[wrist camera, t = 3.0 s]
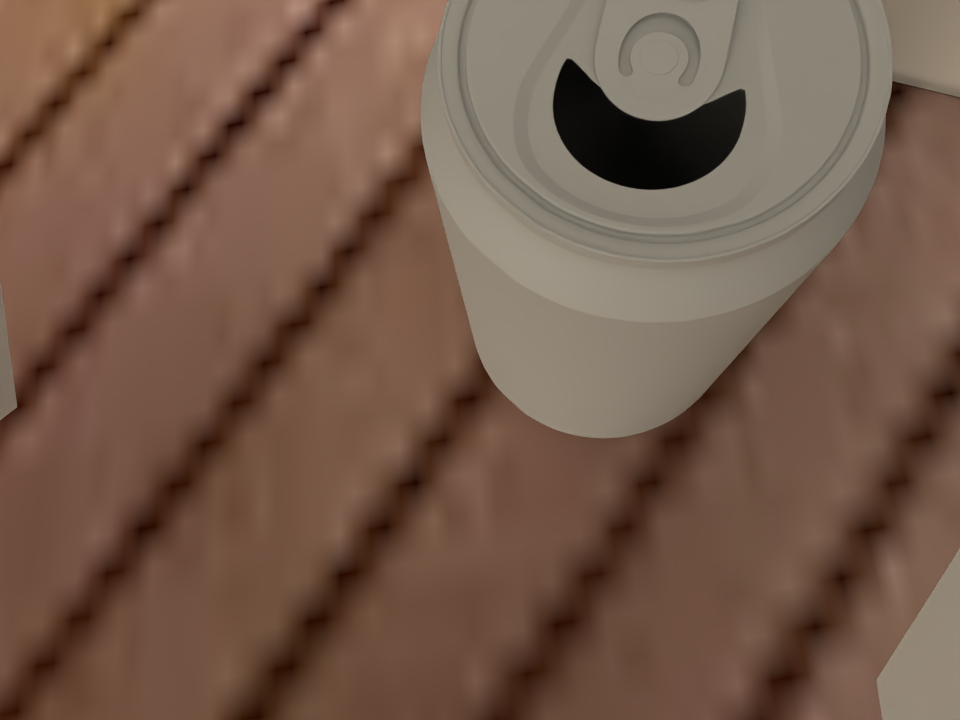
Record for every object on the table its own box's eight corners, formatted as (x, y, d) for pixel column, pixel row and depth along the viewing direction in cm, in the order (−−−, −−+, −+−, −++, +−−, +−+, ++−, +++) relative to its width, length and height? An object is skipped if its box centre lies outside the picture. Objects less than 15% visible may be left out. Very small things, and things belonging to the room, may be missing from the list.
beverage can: (446, 411, 22) (347, 233, 11) (505, 180, 24) (472, -203, 12) (700, 469, 22) (891, 345, 10) (745, 227, 23) (959, -133, 11)
